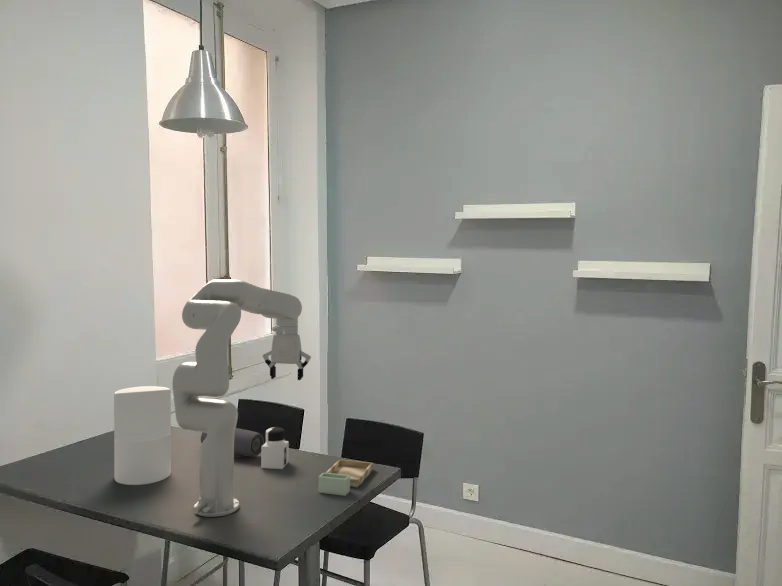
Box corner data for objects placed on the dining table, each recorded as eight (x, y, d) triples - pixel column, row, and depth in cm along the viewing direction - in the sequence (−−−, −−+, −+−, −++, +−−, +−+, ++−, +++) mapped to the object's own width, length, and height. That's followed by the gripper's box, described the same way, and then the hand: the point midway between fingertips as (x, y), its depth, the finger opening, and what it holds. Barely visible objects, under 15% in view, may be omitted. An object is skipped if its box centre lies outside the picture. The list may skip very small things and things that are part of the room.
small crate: (345, 495, 187) (346, 479, 186) (318, 492, 189) (318, 476, 189) (349, 491, 190) (350, 475, 190) (322, 487, 193) (323, 472, 192)
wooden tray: (358, 487, 193) (358, 480, 193) (321, 483, 196) (321, 476, 196) (373, 469, 210) (373, 462, 210) (339, 466, 213) (339, 459, 213)
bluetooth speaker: (199, 453, 224) (199, 426, 224) (216, 446, 233) (216, 421, 232) (248, 463, 215) (249, 435, 214) (264, 455, 223) (265, 429, 223)
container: (288, 462, 216) (289, 426, 216) (282, 469, 209) (283, 432, 208) (267, 461, 217) (267, 425, 217) (260, 468, 210) (261, 431, 209)
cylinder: (113, 470, 204) (112, 388, 203) (167, 463, 212) (167, 384, 211) (116, 488, 189) (115, 399, 188) (174, 480, 197) (174, 394, 196)
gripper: (259, 331, 212) (259, 379, 213) (308, 332, 209) (307, 382, 210) (266, 328, 219) (266, 375, 220) (313, 330, 217) (313, 378, 218)
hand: (286, 378), depth 215 cm, fingers open, 9 cm apart
